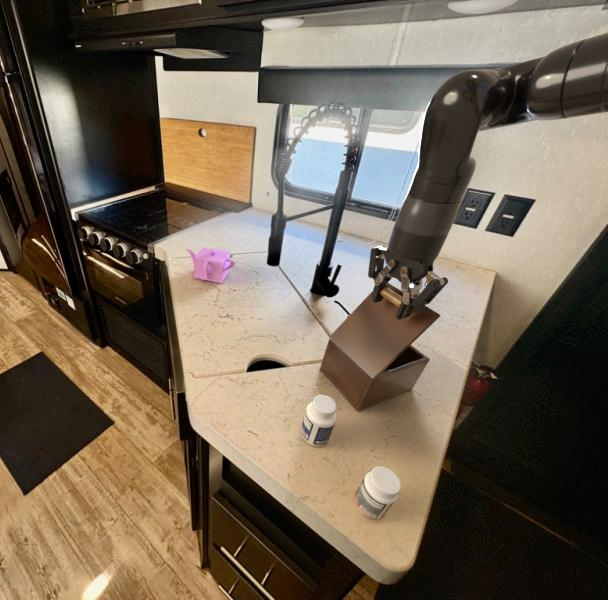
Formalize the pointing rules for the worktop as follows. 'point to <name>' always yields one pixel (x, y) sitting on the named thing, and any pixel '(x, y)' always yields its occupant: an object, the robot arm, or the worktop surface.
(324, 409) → the pill bottle
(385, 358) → the lid
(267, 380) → the worktop surface
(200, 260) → the teapot
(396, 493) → the pill bottle
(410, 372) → the chest
